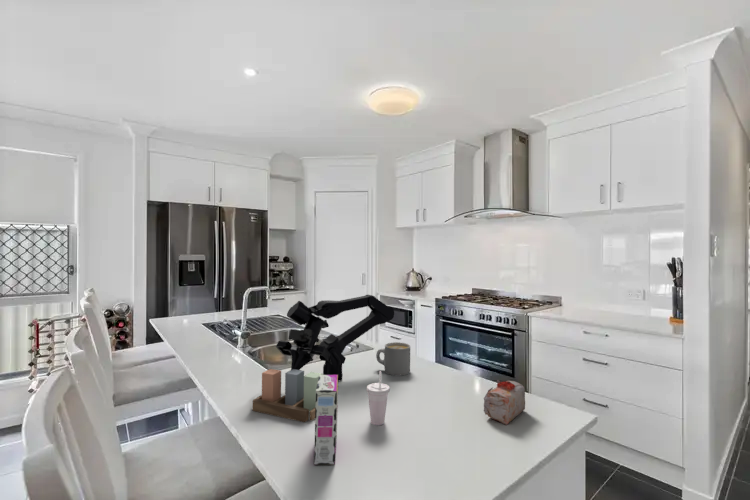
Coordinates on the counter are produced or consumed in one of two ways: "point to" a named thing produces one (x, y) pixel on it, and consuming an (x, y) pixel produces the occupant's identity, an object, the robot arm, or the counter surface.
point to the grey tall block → (294, 386)
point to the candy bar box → (326, 420)
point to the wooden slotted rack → (283, 409)
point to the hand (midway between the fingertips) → (292, 373)
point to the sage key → (310, 390)
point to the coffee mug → (395, 358)
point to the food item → (504, 401)
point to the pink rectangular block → (271, 385)
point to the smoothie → (377, 401)
